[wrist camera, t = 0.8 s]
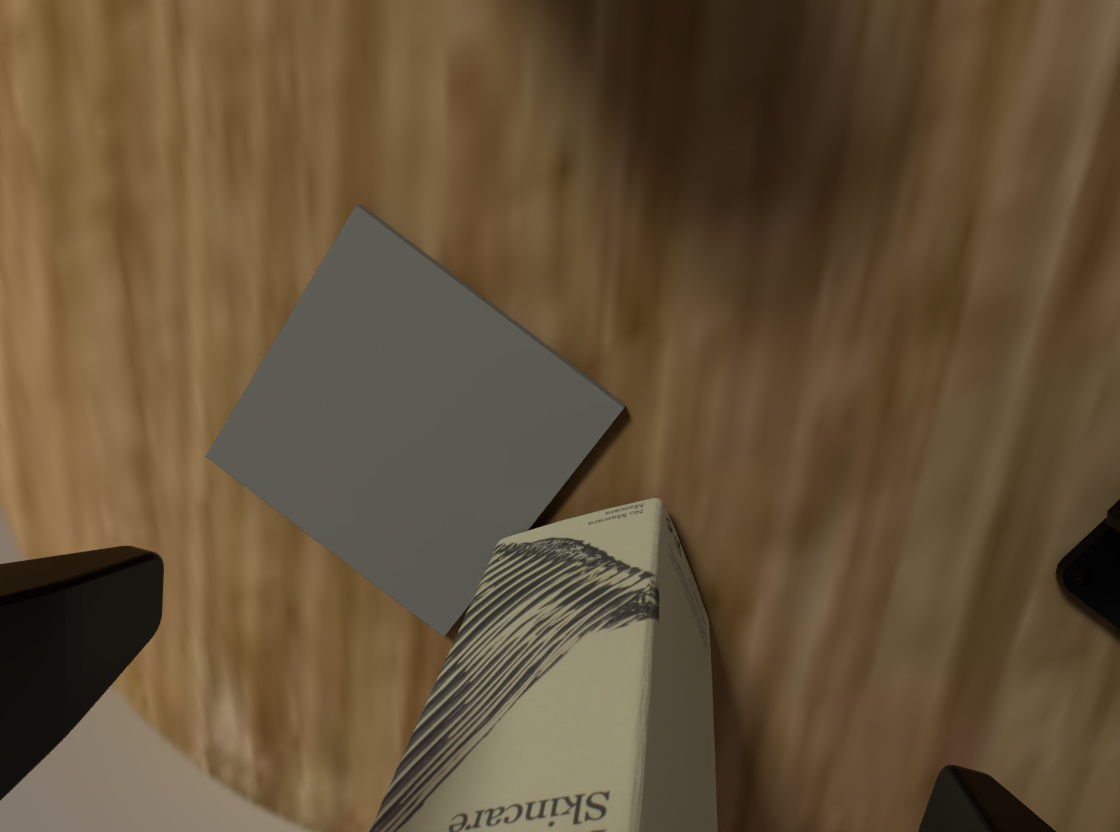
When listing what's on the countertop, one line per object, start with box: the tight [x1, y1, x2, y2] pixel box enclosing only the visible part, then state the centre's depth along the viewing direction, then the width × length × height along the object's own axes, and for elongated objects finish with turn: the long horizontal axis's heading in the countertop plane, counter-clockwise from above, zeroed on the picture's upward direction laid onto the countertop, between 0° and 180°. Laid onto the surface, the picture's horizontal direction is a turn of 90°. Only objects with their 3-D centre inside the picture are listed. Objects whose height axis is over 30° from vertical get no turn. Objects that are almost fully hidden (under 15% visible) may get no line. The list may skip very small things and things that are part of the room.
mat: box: [206, 205, 625, 636], centre depth 22 cm, size 9×9×1 cm
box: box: [369, 498, 718, 832], centre depth 16 cm, size 5×4×13 cm
